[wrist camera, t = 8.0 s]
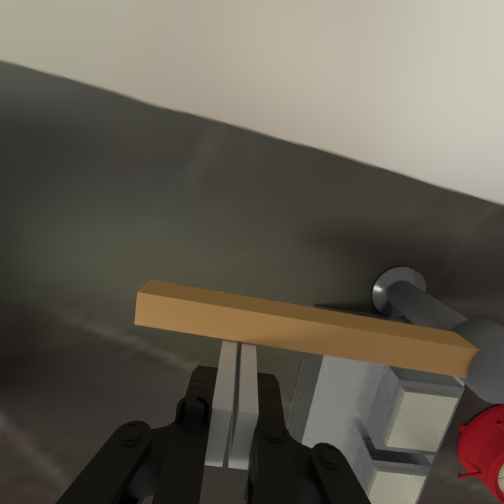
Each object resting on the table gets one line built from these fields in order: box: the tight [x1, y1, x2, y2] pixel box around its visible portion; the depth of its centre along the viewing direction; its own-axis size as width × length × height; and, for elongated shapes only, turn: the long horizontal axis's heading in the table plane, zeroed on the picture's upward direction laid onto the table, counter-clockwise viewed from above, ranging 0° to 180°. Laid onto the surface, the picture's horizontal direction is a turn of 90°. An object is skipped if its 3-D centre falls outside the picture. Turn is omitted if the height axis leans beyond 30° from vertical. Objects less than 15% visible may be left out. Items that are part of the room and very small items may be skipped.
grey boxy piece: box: [286, 266, 465, 504], centre depth 24 cm, size 12×21×7 cm, turn 171°
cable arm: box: [134, 279, 504, 404], centre depth 19 cm, size 22×4×11 cm, turn 79°
